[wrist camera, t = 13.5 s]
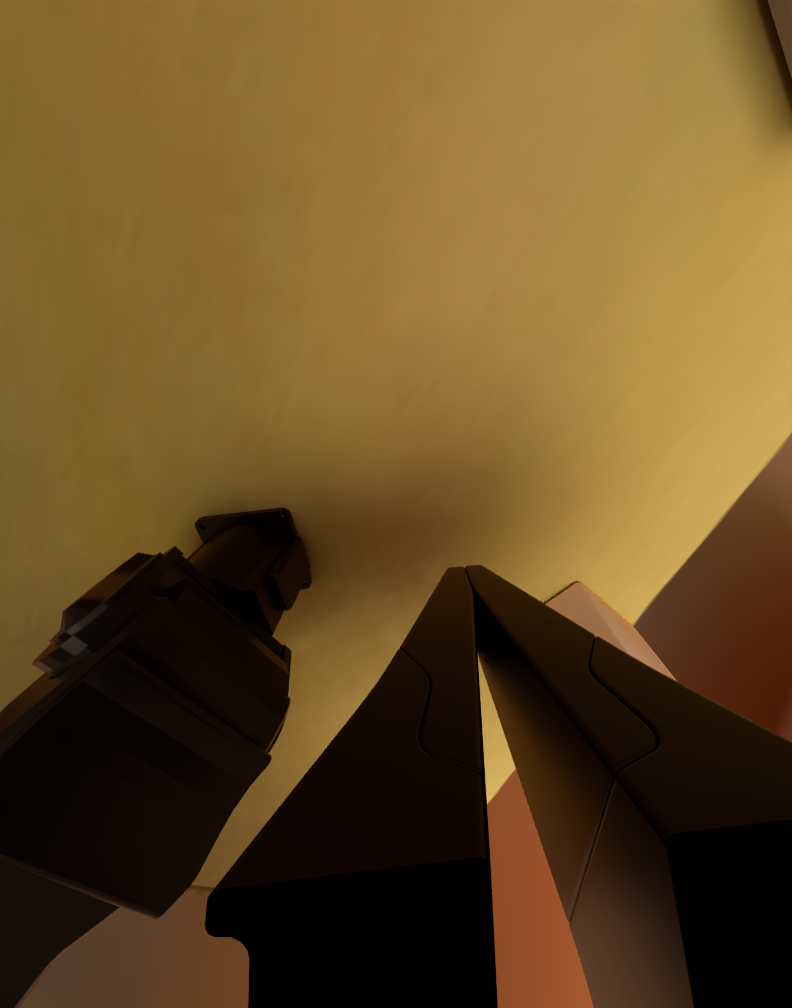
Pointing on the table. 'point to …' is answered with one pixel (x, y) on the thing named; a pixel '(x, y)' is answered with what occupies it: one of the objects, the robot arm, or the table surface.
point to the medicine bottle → (604, 624)
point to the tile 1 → (783, 26)
